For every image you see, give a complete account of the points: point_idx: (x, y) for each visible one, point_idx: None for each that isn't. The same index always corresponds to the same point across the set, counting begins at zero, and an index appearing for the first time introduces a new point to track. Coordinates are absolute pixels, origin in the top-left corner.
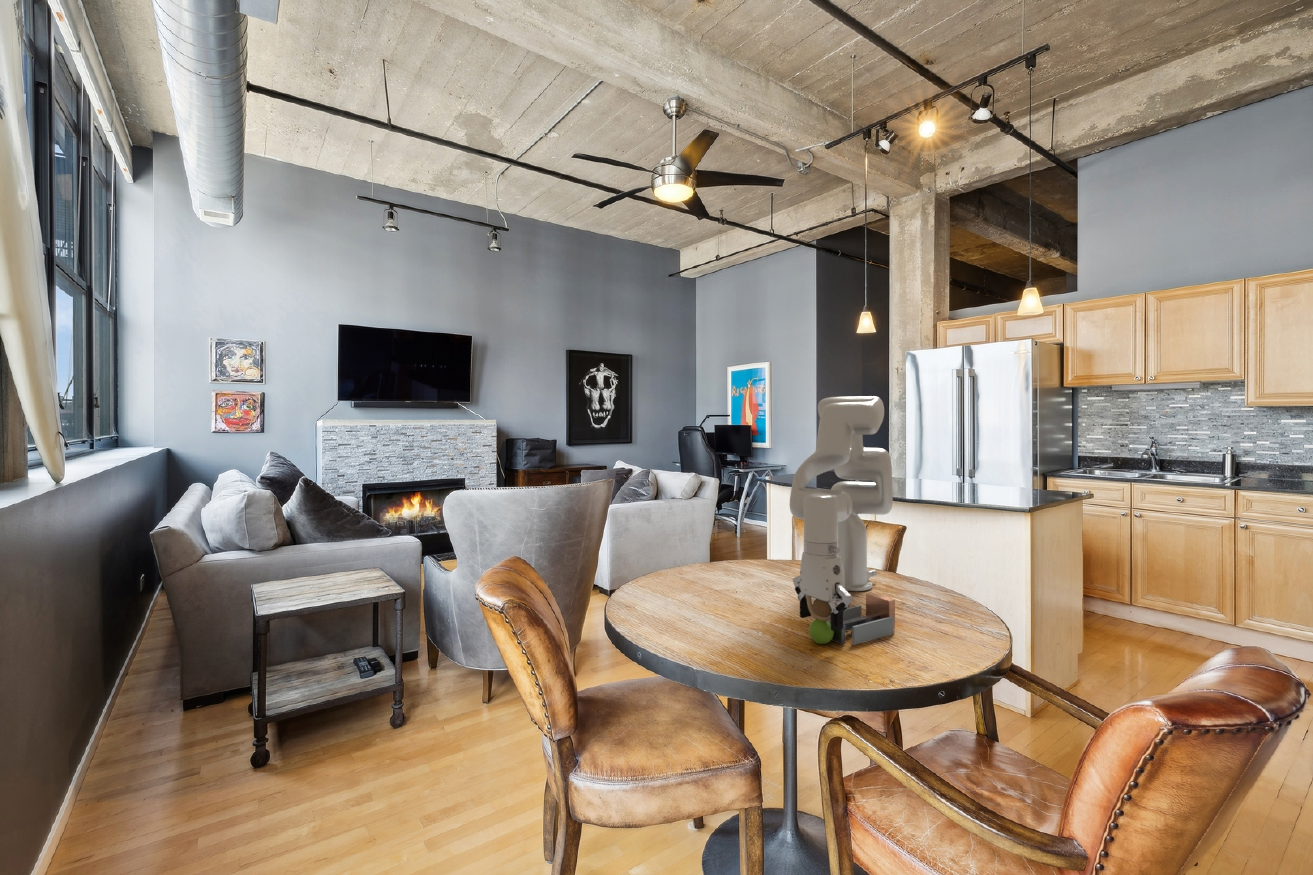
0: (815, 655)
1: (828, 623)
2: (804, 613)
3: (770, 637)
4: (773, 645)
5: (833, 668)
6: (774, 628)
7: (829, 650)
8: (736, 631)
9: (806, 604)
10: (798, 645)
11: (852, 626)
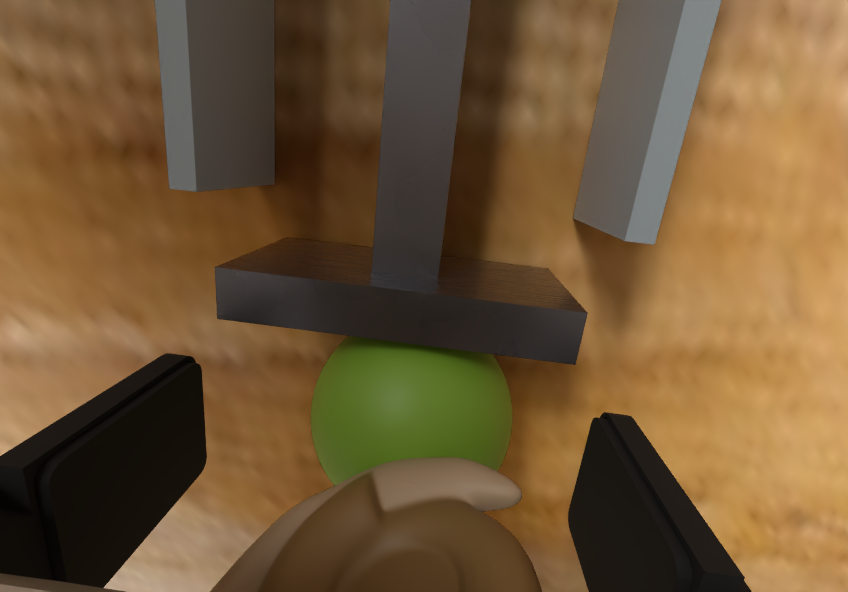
0: (520, 524)
1: (472, 444)
2: (180, 467)
3: (191, 508)
4: None
5: None
6: (79, 395)
7: (530, 420)
8: None
9: (105, 519)
10: None
11: (626, 234)
